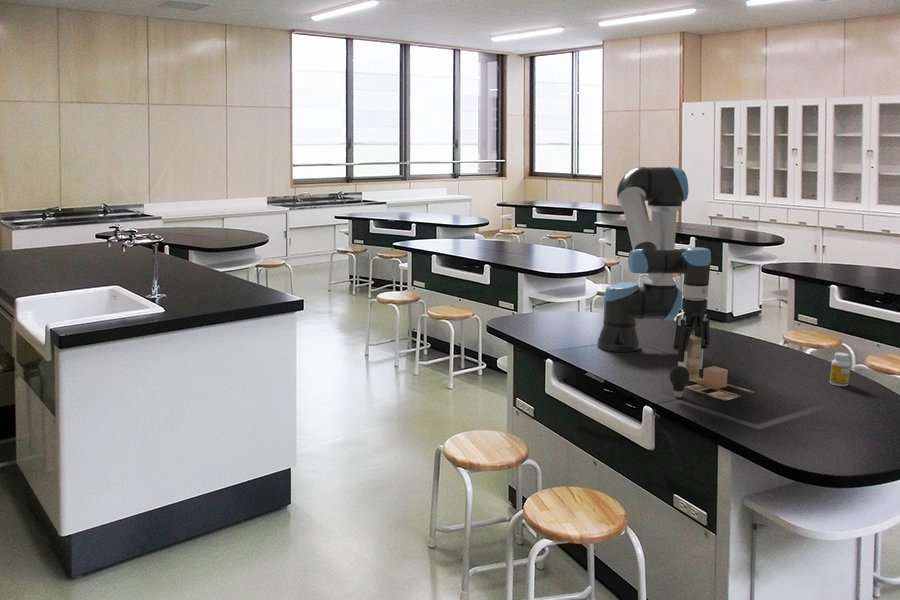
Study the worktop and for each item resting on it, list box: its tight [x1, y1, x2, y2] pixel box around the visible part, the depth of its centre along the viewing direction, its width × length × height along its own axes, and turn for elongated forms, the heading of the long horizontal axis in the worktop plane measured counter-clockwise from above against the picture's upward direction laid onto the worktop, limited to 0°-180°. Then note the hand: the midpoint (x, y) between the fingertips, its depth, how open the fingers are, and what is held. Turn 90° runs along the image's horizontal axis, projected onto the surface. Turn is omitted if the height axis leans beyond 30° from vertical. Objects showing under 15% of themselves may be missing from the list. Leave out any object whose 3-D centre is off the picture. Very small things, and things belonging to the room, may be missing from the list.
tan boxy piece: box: [682, 334, 728, 389], centre depth 253 cm, size 15×5×14 cm, turn 35°
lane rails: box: [684, 383, 755, 402], centre depth 246 cm, size 15×14×1 cm
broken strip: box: [686, 383, 738, 401], centre depth 244 cm, size 15×5×1 cm, turn 35°
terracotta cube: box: [702, 365, 729, 389], centre depth 250 cm, size 5×5×5 cm
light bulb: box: [669, 365, 690, 400], centre depth 239 cm, size 6×6×10 cm
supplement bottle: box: [829, 352, 851, 387], centre depth 256 cm, size 5×5×10 cm
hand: (689, 369), depth 258 cm, fingers open, 7 cm apart
